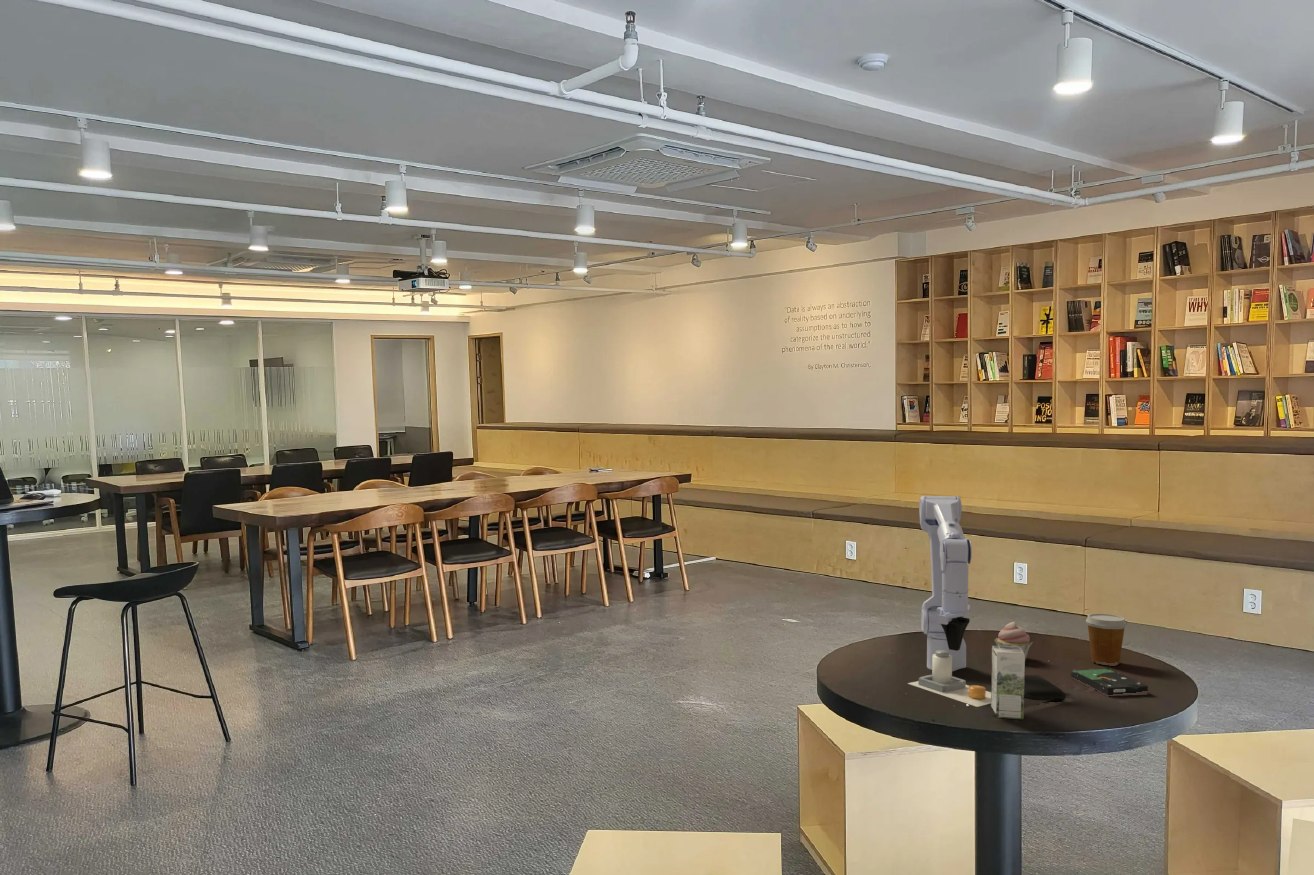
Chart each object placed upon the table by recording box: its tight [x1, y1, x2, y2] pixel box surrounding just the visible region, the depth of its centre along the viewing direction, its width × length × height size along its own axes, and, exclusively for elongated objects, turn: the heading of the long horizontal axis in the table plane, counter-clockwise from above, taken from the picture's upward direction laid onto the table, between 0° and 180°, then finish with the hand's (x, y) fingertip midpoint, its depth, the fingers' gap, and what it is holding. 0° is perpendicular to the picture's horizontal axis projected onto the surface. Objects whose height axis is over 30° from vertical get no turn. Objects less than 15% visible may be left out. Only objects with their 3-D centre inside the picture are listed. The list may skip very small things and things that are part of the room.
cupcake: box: [994, 621, 1034, 661], centre depth 242 cm, size 9×9×10 cm
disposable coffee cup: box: [1085, 613, 1128, 663], centre depth 238 cm, size 10×10×12 cm
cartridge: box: [931, 650, 953, 685], centre depth 215 cm, size 4×4×8 cm
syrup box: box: [990, 644, 1026, 720], centre depth 197 cm, size 6×6×14 cm
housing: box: [907, 674, 991, 708], centre depth 211 cm, size 11×20×2 cm, turn 32°
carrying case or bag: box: [1024, 674, 1067, 704], centre depth 212 cm, size 11×3×15 cm
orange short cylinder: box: [969, 684, 987, 699], centre depth 207 cm, size 4×4×2 cm
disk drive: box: [1070, 667, 1149, 695], centre depth 218 cm, size 10×3×15 cm
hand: (954, 649), depth 212 cm, fingers closed
